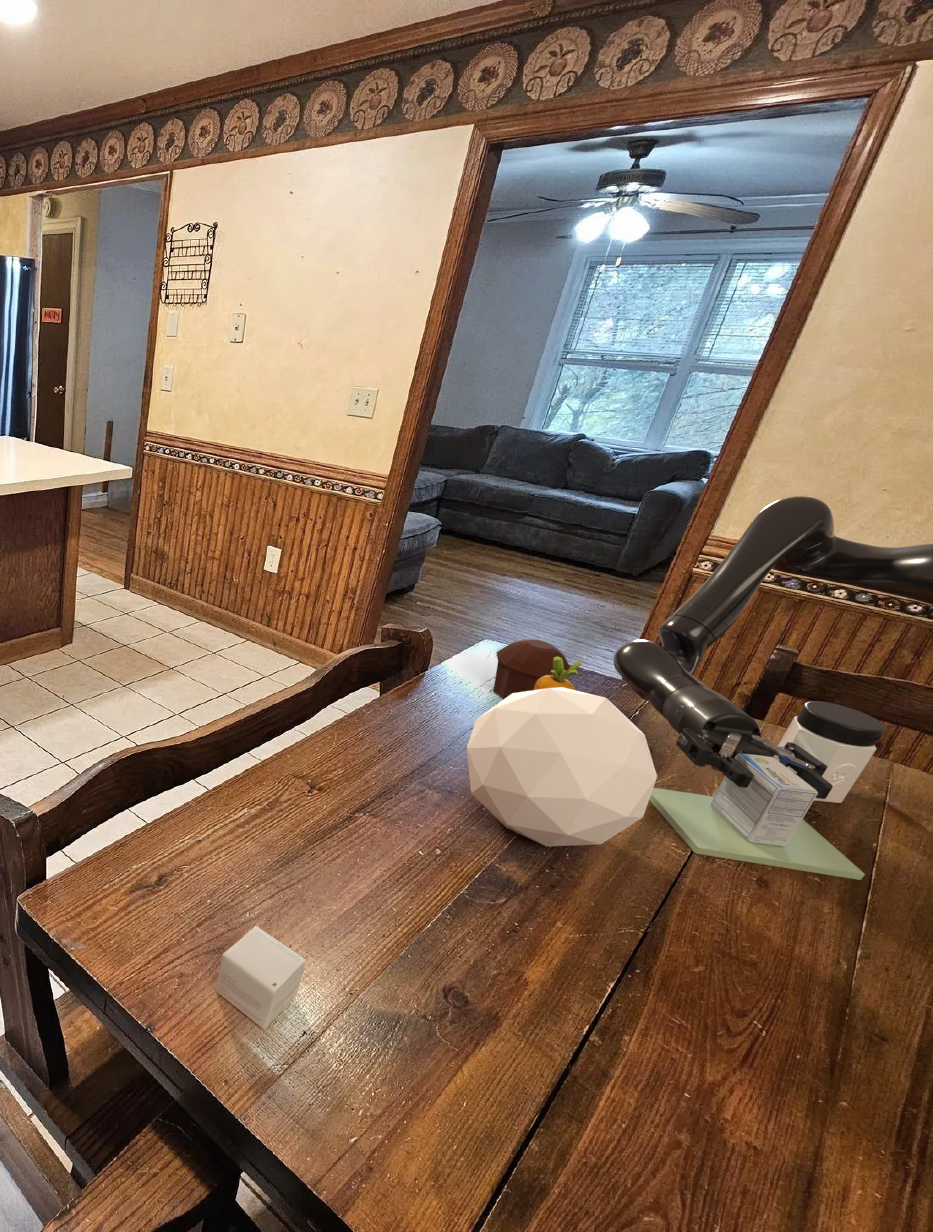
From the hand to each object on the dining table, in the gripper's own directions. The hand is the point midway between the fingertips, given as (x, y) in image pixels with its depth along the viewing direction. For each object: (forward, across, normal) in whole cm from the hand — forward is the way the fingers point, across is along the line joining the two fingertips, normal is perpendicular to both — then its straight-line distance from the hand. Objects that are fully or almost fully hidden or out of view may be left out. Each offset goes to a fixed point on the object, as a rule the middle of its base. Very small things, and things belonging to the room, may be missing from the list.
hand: (786, 787), depth 88 cm
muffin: (-35, +16, -9) cm, 39 cm away
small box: (+39, +64, -9) cm, 75 cm away
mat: (-2, 0, -9) cm, 9 cm away
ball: (+4, +28, -9) cm, 30 cm away
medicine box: (-2, 0, -8) cm, 8 cm away
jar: (-17, -16, -9) cm, 25 cm away
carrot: (-18, +20, -9) cm, 28 cm away
